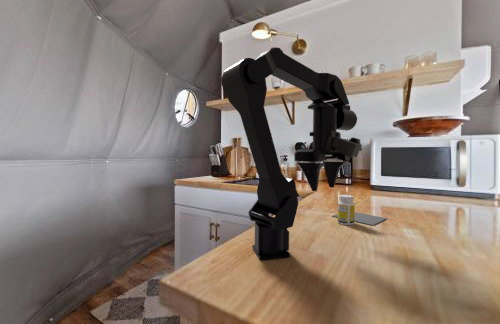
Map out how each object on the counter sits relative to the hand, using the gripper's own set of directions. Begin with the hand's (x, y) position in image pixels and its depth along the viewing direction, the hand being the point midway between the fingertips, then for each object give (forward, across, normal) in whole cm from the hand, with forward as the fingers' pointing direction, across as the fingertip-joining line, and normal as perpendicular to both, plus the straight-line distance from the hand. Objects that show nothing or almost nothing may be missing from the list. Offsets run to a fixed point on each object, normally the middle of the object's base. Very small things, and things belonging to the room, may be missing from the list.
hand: (323, 189), depth 59 cm
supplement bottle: (+12, +15, 0) cm, 20 cm away
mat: (+12, +24, 0) cm, 27 cm away
